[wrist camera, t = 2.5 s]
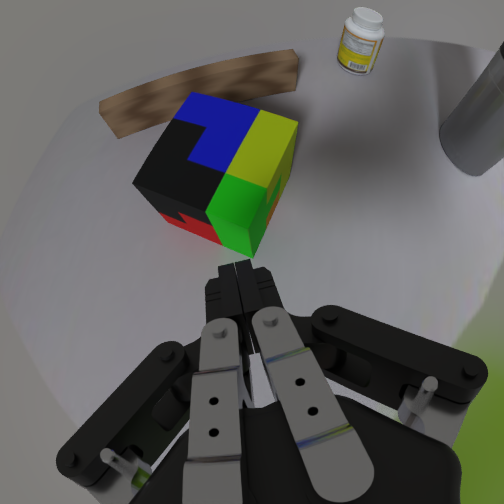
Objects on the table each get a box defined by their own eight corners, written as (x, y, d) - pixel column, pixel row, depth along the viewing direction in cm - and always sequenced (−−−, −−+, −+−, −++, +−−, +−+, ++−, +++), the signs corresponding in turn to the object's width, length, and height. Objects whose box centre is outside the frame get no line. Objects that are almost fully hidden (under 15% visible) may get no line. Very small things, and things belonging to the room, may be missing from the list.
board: (290, 81, 36) (292, 48, 30) (295, 90, 35) (298, 58, 29) (117, 128, 35) (99, 101, 29) (118, 139, 34) (99, 112, 29)
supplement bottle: (356, 51, 37) (370, 3, 27) (378, 73, 36) (398, 24, 26) (328, 57, 37) (339, 5, 27) (350, 80, 35) (367, 26, 26)
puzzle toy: (208, 148, 34) (191, 91, 24) (289, 176, 32) (298, 122, 23) (168, 222, 32) (132, 183, 22) (252, 258, 30) (248, 229, 21)
